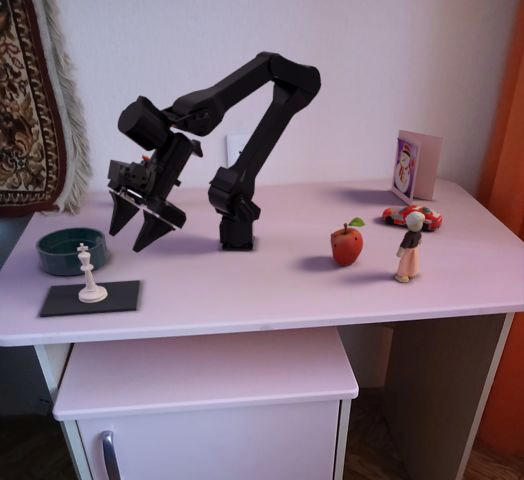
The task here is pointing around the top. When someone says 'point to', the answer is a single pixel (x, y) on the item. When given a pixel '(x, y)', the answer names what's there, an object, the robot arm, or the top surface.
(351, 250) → the apple
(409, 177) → the greeting card
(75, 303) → the mat
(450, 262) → the top surface
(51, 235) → the bowl
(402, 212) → the race car
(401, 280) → the grandmother figurine
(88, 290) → the chess piece
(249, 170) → the robot arm
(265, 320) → the top surface
